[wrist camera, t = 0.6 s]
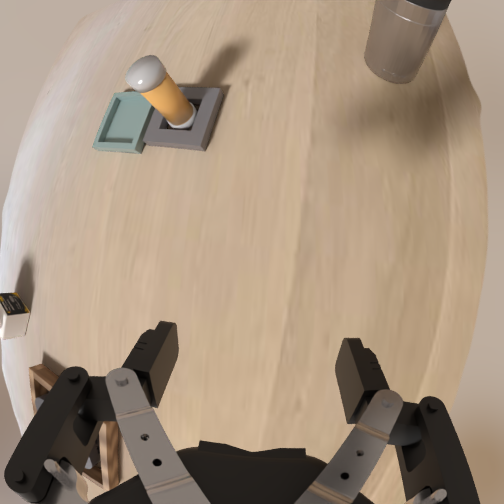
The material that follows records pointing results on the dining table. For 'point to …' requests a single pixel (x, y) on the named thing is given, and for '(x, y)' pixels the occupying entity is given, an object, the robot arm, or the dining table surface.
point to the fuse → (161, 92)
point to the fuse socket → (201, 127)
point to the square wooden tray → (108, 433)
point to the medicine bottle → (12, 316)
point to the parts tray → (124, 123)
